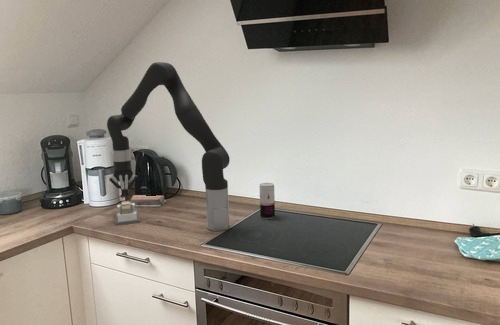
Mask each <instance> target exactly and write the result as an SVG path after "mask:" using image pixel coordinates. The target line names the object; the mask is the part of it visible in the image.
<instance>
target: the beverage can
mask: <svg viewBox="0 0 500 325" xmlns="http://www.w3.org/2000/svg"><path fill="white" fill-rule="evenodd" d="M275 208H276V207H275V184H274V183H272V182H263V183H262V182H261V183H260V184H259V210H260V211H259V216H260V217H261V218H262V219H264V220H268V219H271V220H272V219H274V217H275V216H276V214H275V213H276V212H275V211H276V209H275Z"/></svg>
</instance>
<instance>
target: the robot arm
mask: <svg viewBox="0 0 500 325" xmlns="http://www.w3.org/2000/svg"><path fill="white" fill-rule="evenodd" d="M159 86H164V87H165V88H166V90H167V92H168V93H169V95H170V97H171V98H172V103H173V109H174V113H175V115H176V118H177V120H178V121H179V123H180V124H181V126H182V127H183V129H184V130H185V131H186V132H187V133H188V134H189V135H190V136H191V137H192V138H193V139H195V140H196V141H197V142H198V143H200V145H201V146H202V148H203V150H204V154H203V155H202V157H201V173H202V180H203V183H204V186H205V207H206V208H205V209H206V223H207V226H206V227H207V229H208V230H209V231H213V232H220V231H227V230H229V228H230V211H229V209H230V208H229V207H230V206H229V184H228V183H229V182H228V180H227V179H225V177H224V169H226V168H228V166H229V164H230V155H229V153H228V151H227V150H226V149H225V147H224V146H223V145H222V144H221V142H220V141H219V139H218V138H217V137H216V136H215V134H214V132H213V131H212V129H211V127H210V126H209V124H208V122H207V121H206V120H205V118H204V116H203V115H202V112H201V111H200V110H199V108H198V106H197V105H196V104H195V102H194V101H193V98H192V97H191V95H190V94H189V92H188V91H187V89H186V88H185V86H184V84H183V82H182V79H181V78H180V75H179V73H178V71H177V70H176V67H175V66H174V65H172V64H171V63H169V62H164V61H163V62H161V61H155V62H153V63H151V65H150V66H148V68H147V70H146V71H145V73H144V75H143V77H142V79H140V82H139V83H138V85H137V87H136V89H135V90H134V91H133V93H132V94H131V96H129V98H128V99H127V100H126V101H125V103H124V104H123V105H122V106H121V108H120V111H121V114H117V115H111V116H109V117H108V118H107V121H106V122H107V123H106V127H107V132H108V134H109V136H110V139H111V142H112V162H113V170H114V171H113V175H112V176H110V177H109V179H108V181H109V182H111V184H112V185H114V187H115V188H117V189H120V190H121V196H122V197H123V198H127V197H128V196H129V190H128V189H130V188H133V185H134V184H135V183H136V181H137V180H138V178H139V176H138V175H136V174H134V171H133V170H132V158H131V157H132V156H131V152H130V143H129V142H130V140H129V137H128V136H125V135H124V134H123V132H122V131H126V130H128V129H129V128H130V127H131V126H132V125H133V123H134V120H136V116H138V114H140V112H142V110H143V109H144V107H145V106H146V104H147V101H148V98H149V96H150V94H151V93H152V92H153V90H155V89H156V88H158V87H159ZM131 178H132V180H130V179H131ZM116 180H117V181H116ZM129 181H130V182H129ZM118 182H119V183H118Z"/></svg>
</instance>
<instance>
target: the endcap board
mask: <svg viewBox="0 0 500 325" xmlns="http://www.w3.org/2000/svg"><path fill="white" fill-rule="evenodd" d="M116 208H117V210H115V226H120V225H121V226H122V225H128V224H136V223H140V216H139V212H138V211H139V210H138V208H136V207H135V203H131V204H130V209H131V213H130V214H122V204H117V205H116Z"/></svg>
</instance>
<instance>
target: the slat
mask: <svg viewBox="0 0 500 325" xmlns="http://www.w3.org/2000/svg"><path fill="white" fill-rule="evenodd" d="M130 202H131V201H130V200H123V201H121V205H122V214H130V213H131V209H130Z"/></svg>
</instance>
